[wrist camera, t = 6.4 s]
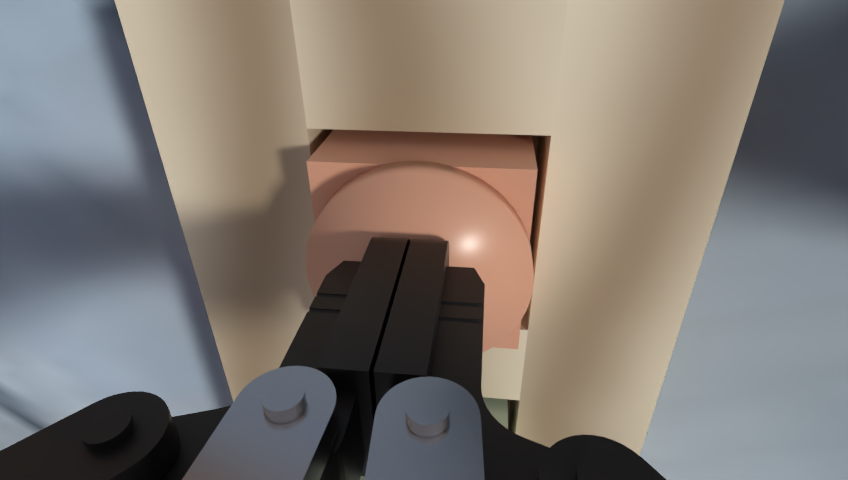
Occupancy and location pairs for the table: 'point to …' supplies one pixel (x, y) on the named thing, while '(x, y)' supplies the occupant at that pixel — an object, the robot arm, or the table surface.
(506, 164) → the terracotta button
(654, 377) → the button panel
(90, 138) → the table surface
